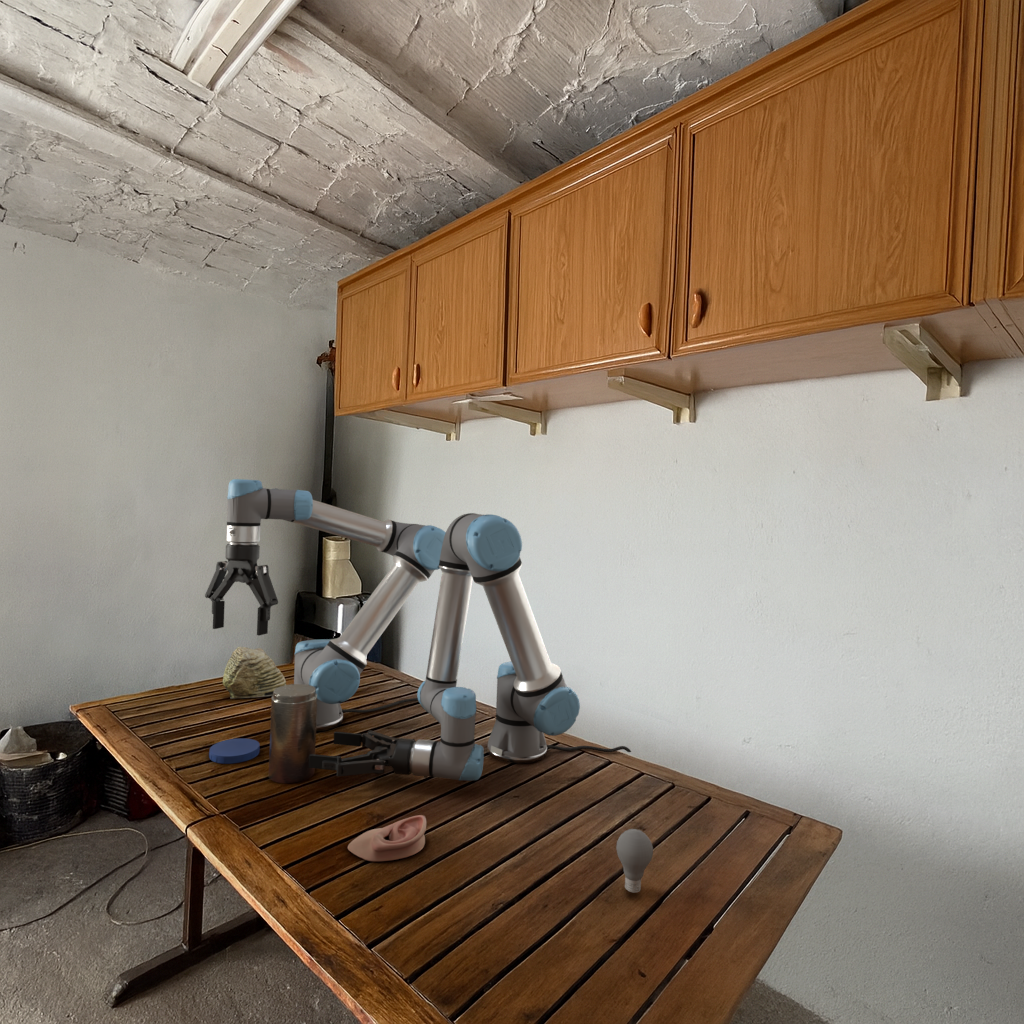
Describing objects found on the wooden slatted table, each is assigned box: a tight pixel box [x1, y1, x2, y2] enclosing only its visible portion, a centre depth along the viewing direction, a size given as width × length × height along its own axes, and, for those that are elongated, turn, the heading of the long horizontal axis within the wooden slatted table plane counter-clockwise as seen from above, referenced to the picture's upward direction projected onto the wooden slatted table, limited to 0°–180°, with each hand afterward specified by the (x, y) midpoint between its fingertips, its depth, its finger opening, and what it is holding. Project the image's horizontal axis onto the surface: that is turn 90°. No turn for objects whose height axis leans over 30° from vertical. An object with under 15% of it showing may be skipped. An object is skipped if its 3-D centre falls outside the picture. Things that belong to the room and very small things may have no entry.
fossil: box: [222, 646, 287, 699], centre depth 198 cm, size 9×18×15 cm, turn 132°
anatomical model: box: [347, 814, 427, 862], centre depth 116 cm, size 13×4×12 cm
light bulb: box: [615, 828, 654, 894], centre depth 106 cm, size 6×6×10 cm
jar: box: [268, 683, 317, 784], centre depth 144 cm, size 10×10×19 cm
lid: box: [208, 737, 261, 765], centre depth 153 cm, size 11×11×2 cm
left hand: (239, 631), depth 153 cm, fingers open, 13 cm apart
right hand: (322, 748), depth 143 cm, fingers open, 13 cm apart
